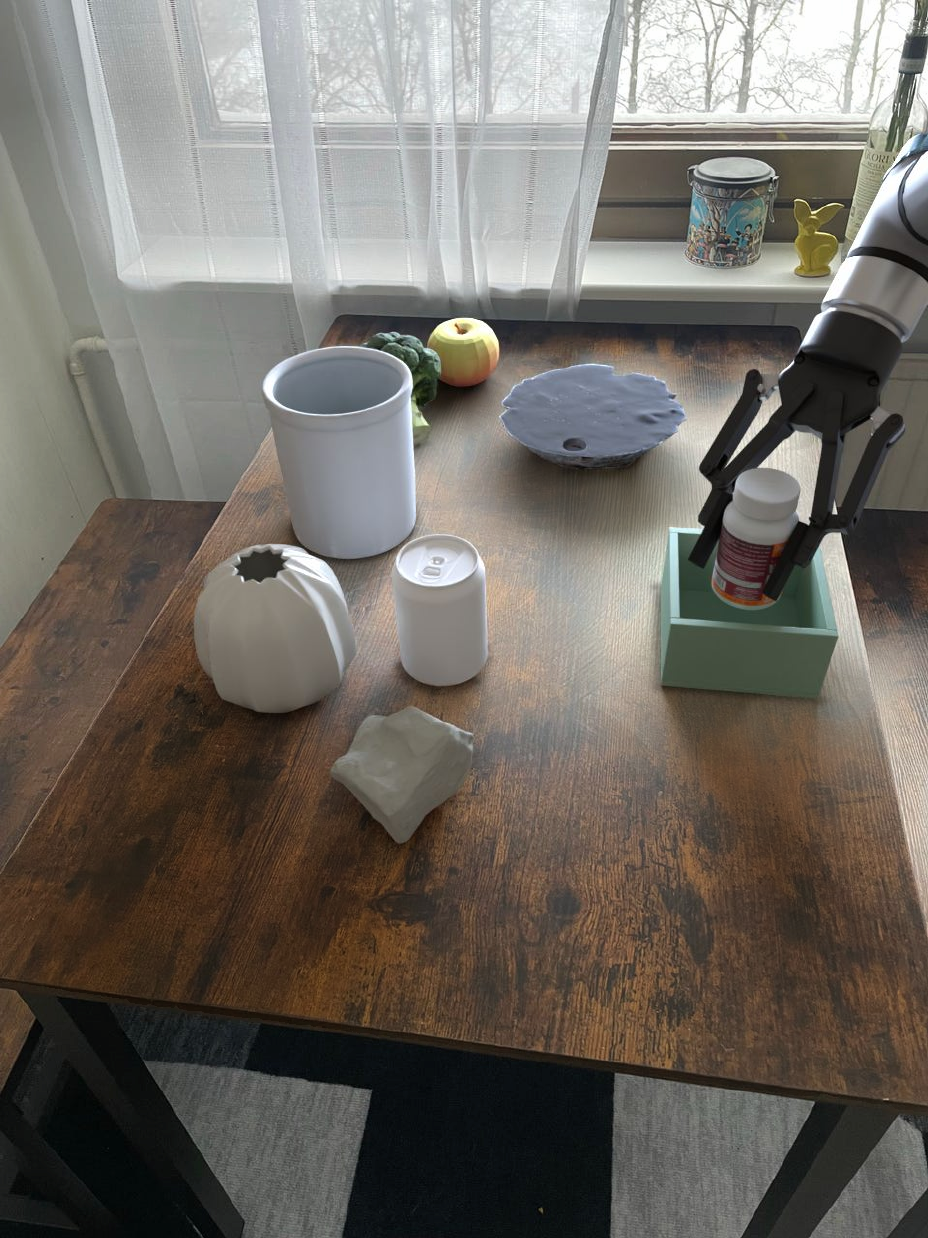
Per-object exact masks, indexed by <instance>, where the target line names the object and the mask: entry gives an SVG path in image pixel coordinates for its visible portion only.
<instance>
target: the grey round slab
mask: <svg viewBox="0 0 928 1238" xmlns="http://www.w3.org/2000/svg"><path fill="white" fill-rule="evenodd" d="M614 369H615V367H613V366H611V365H605V364H598V363H583V364H578V365H572V366H569V367H565V368H558V369H552V370H549V371H545V372H543V373H540V374H538V375H534V376H533V377H528V378H525V379H523V380H521V381H522V382H520V383H518V384H514V385H513V386H512V388H511V390H510V393H509V394H508V395H507V396H506V397H505V398H503V400H502V401H500V402H501V405H502V407H503V408H505V409H506V410H505V411H504V412H503V413H501V415H499V416H498V418H499V419H500V422H501V423H502V427H504V429H505V430H506V432H507V433H508V435H509V436H511V437H512V438H514V439H515V440H516V441H517V442H519V443H520V444H521V445H523V446H525V447H526V448H527V449H528V450H529V451H531V452H532V453H534V454H535V455H536V456H539V458H542V459H543V460H546V461H548V462H550V463H552V464H555V465H558V466H560V467H563V468H569V469H575V470H579V471H584V470H592V469H593V470H599V469H618V468H626V467H628V466H631V465H632V464H633V463H634V462H635V461H636V460H637V459H638V458H640V457H641V456H644V455H645V454H647V453H649V452H650V451H652V450H654V449H656V447H658V446H660V445H661V444H662V443H664V442H665V441H667V440H668V439H669V438H670V437H672V436H673V435H674V434H677V433H679V432H678V431H679V428H678V427H679V426H680V425H681V424H683V423H684V422H685V421H687V416H686V415H687V414H686V411H685V410H684V407H683V404H681V403H680V402H678V401H677V400H675V398H676V397H677V393H674V392H672V391H670V390H669V389H668V383H667V382H666V381H664V380H662V379H657V376H655V375H647V374H643V373H640V372H631V373H630V372H629V373H627V374H624V375H616V374H614Z"/></svg>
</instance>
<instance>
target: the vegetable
mask: <svg viewBox="0 0 928 1238" xmlns="http://www.w3.org/2000/svg"><path fill="white" fill-rule="evenodd" d="M358 347H362V348H369V349H374V350H379V351H382V352H385V353H388V354H390V355H392V356H394V357H396V358H398V359H399V360H401V361H402V362H403V363H404V364H405V365H406V366H407V367H408V368H409V370H410V372H411V375H412V385H413V386H412V393H411V396H410V397H411V410H412V432H413V447H417V446H419V445H421V444H422V443H424V442H425V441H427V440H428V438H429V435H430V433H431V425H430V424H429V423H428V422H427V421H426V419H425V418H424V416H423V412H422V411H420V410H419V408H418V407H420V408H424V407H425V405H426V404H428V403H430V402H432V401H433V400H435V399H436V396H437V394H438V391H437V388H438V381H437V380H438V379H439V377H440V375H441V363H440V358H439V357H438V355H437V353H436V352H435V351H433V350H431V349H429V348H427V347H424V345H423V343H422V342H421V340H420V339H419V338H417V337H416V336H414V335H411V334H402V335H401V334H400V333H399V332H395V331H391V332H388V333H383V332H379V333H376V334H374V335H372V336H371V337H370V339H369V340H368V341H367V342H365V343H362V344H360V345H359V346H358ZM439 380H440V379H439Z"/></svg>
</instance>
